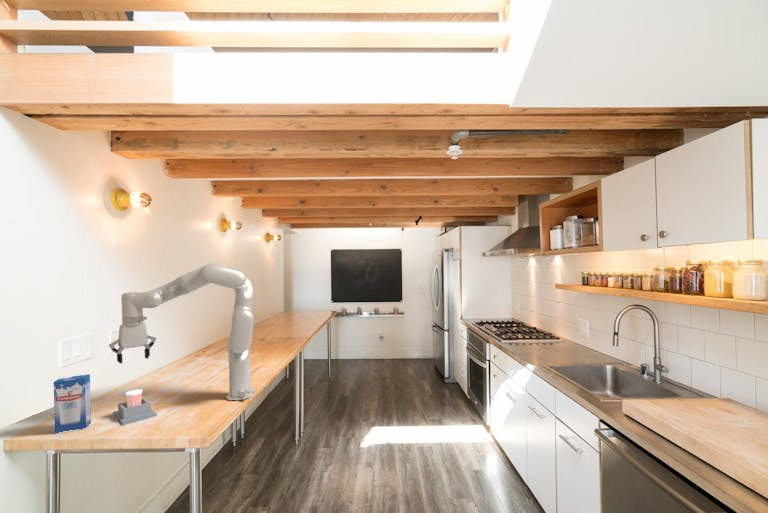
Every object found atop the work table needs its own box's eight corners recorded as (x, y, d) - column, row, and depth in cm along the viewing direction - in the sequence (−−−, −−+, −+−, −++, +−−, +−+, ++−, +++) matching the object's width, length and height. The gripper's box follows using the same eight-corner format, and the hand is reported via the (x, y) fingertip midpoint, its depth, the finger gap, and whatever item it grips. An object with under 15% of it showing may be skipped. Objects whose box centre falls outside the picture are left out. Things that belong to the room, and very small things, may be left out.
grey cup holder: (156, 415, 160) (156, 403, 160) (122, 425, 151) (122, 412, 151) (145, 405, 172) (144, 394, 172) (113, 414, 163) (112, 402, 164)
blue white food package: (54, 434, 145) (53, 382, 146) (60, 428, 151) (59, 377, 151) (86, 428, 149) (85, 378, 150) (91, 422, 155) (90, 374, 155)
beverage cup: (132, 410, 165) (131, 377, 165) (146, 409, 164) (145, 377, 165) (122, 415, 159) (121, 382, 159) (136, 415, 158) (135, 381, 159)
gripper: (152, 317, 171) (154, 355, 171) (106, 323, 159) (107, 363, 159) (157, 318, 166) (159, 357, 166) (110, 324, 154) (111, 366, 153)
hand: (133, 360), depth 162 cm, fingers open, 9 cm apart
